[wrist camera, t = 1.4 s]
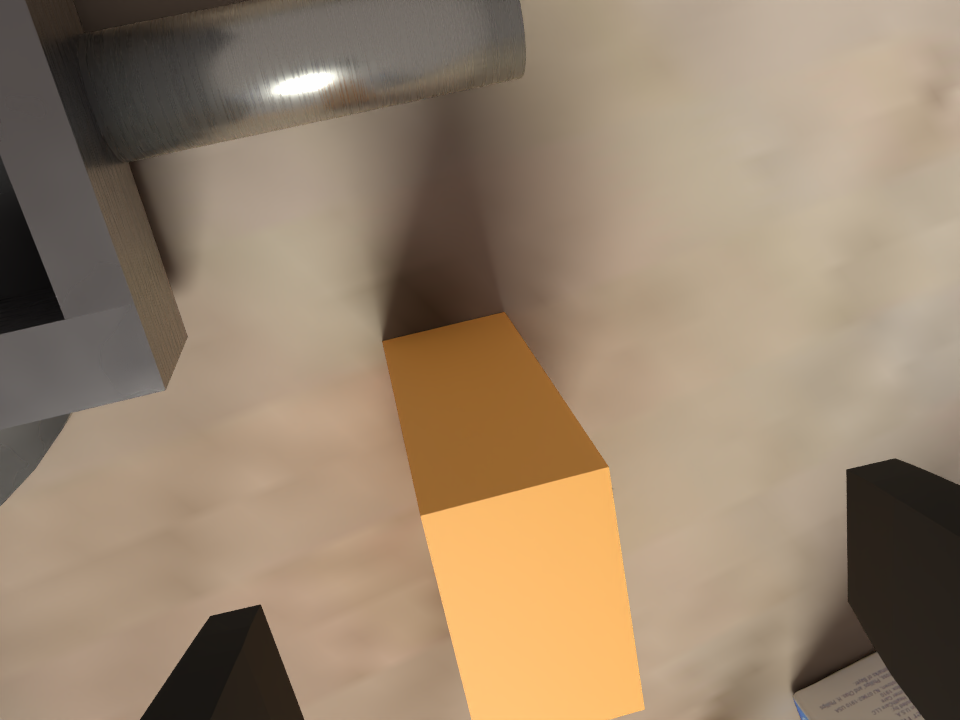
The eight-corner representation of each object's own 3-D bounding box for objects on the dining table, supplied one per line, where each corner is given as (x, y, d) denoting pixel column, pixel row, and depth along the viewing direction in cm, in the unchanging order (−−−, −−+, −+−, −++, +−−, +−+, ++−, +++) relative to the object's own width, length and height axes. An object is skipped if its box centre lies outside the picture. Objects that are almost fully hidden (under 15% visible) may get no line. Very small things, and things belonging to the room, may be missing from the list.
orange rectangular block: (537, 488, 23) (644, 709, 15) (425, 517, 22) (481, 756, 15) (504, 312, 21) (608, 466, 13) (381, 341, 21) (420, 516, 13)
